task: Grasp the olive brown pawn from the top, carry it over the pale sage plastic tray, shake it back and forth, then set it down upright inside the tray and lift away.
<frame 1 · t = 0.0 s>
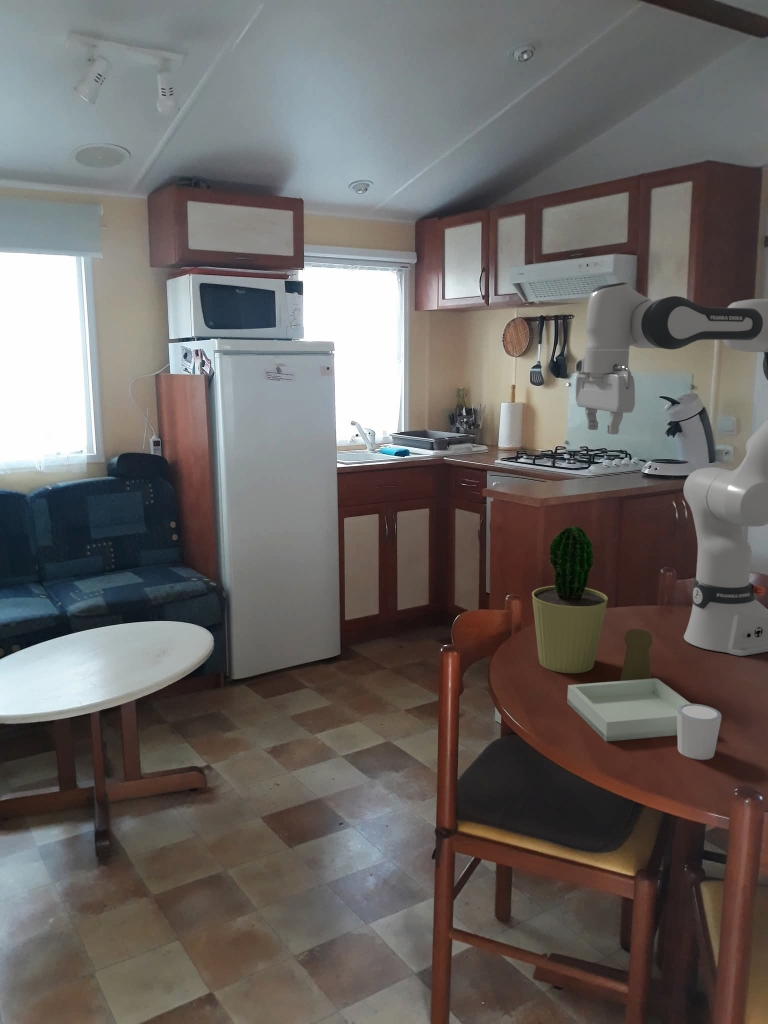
hand: (602, 431, 174), 48 cm above the table, tool pointing down, fingers open, 8 cm apart
olive brown pawn: (635, 684, 165), on the table
potted cactus: (566, 664, 176), on the table
tray: (632, 717, 150), on the table
white cup: (695, 752, 137), on the table
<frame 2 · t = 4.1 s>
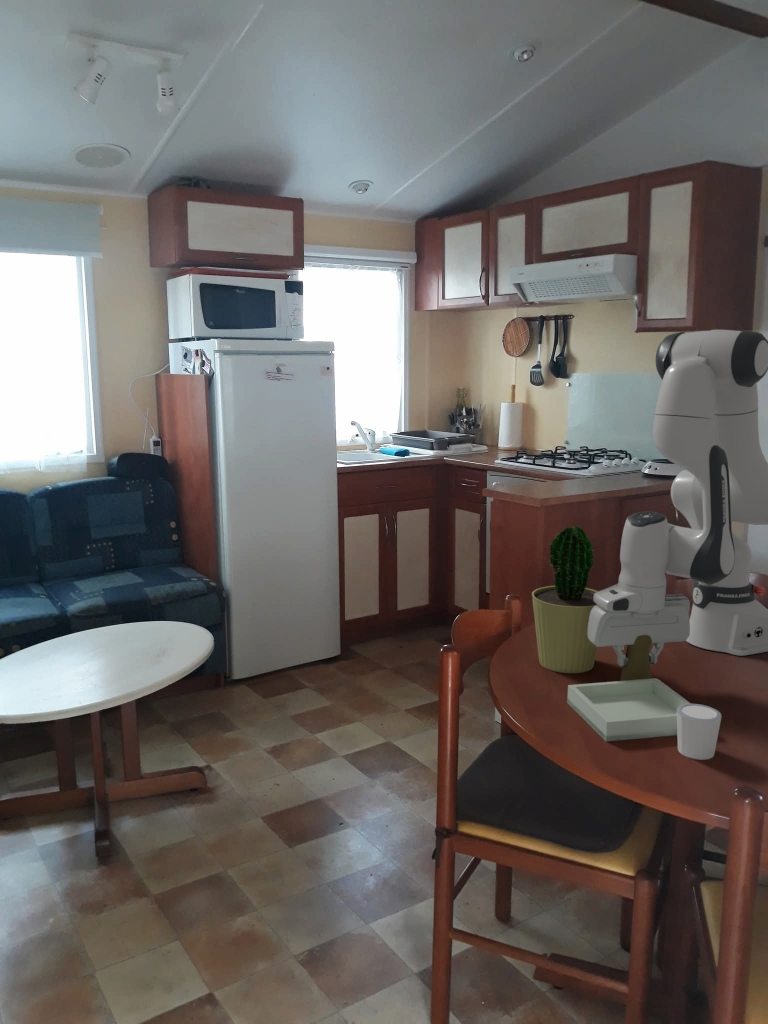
hand: (636, 664, 164), 4 cm above the table, tool pointing down, fingers closed on olive brown pawn, 5 cm apart
olive brown pawn: (635, 684, 165), on the table, touching gripper
everything else where it was.
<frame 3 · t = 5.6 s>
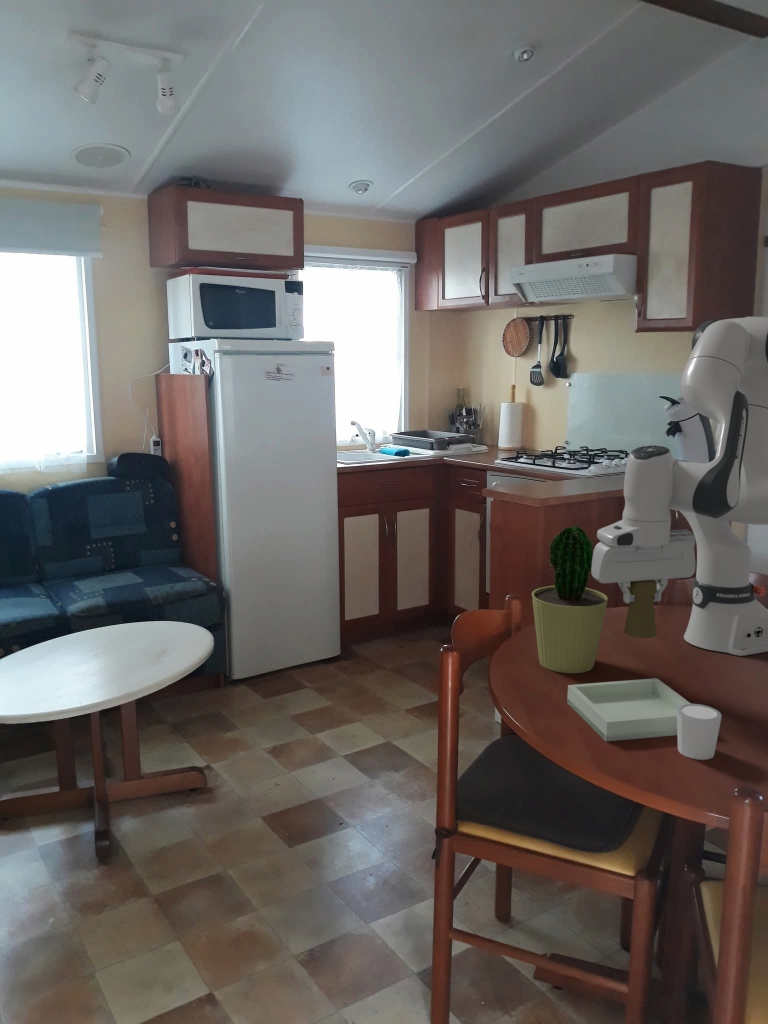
hand: (641, 601, 162), 17 cm above the table, tool pointing down, fingers closed on olive brown pawn, 4 cm apart
olive brown pawn: (639, 633, 163), point 10 cm above the table, touching gripper
everything else where it was.
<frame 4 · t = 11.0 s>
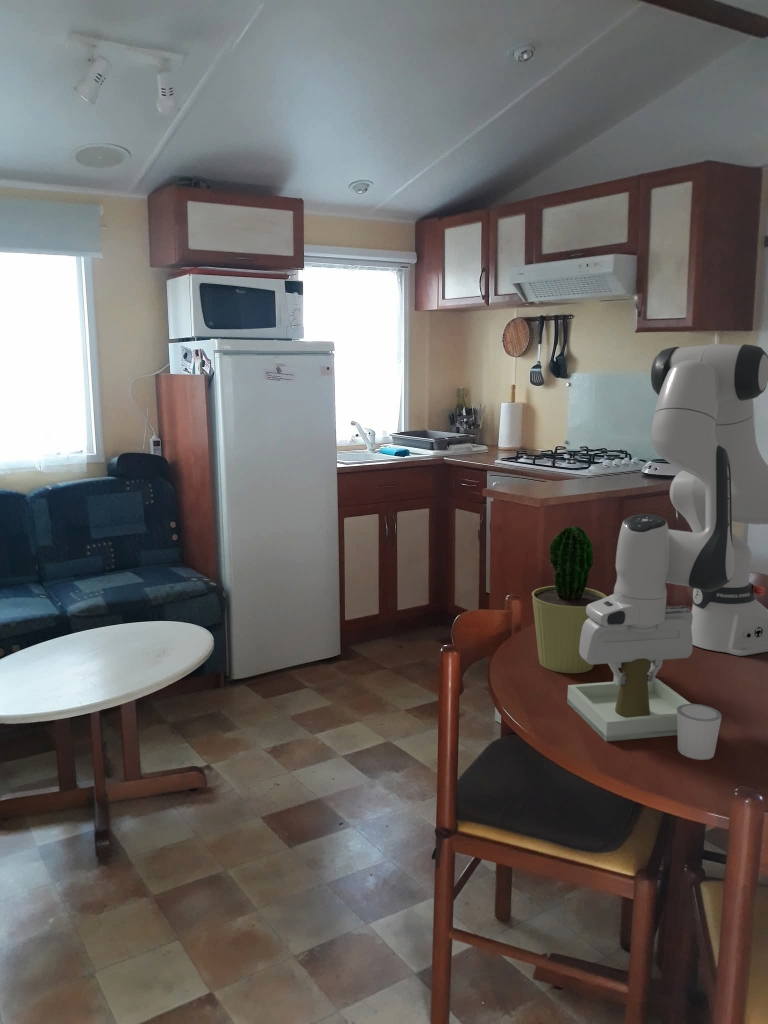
hand: (633, 683, 148), 7 cm above the table, tool pointing down, fingers closed on olive brown pawn, 4 cm apart
olive brown pawn: (632, 712, 149), point 1 cm above the table, touching gripper, tray
everything else where it was.
when the fingers open (7 cm above the table, at t = 11.4 s): olive brown pawn stays where it is, resting on tray.
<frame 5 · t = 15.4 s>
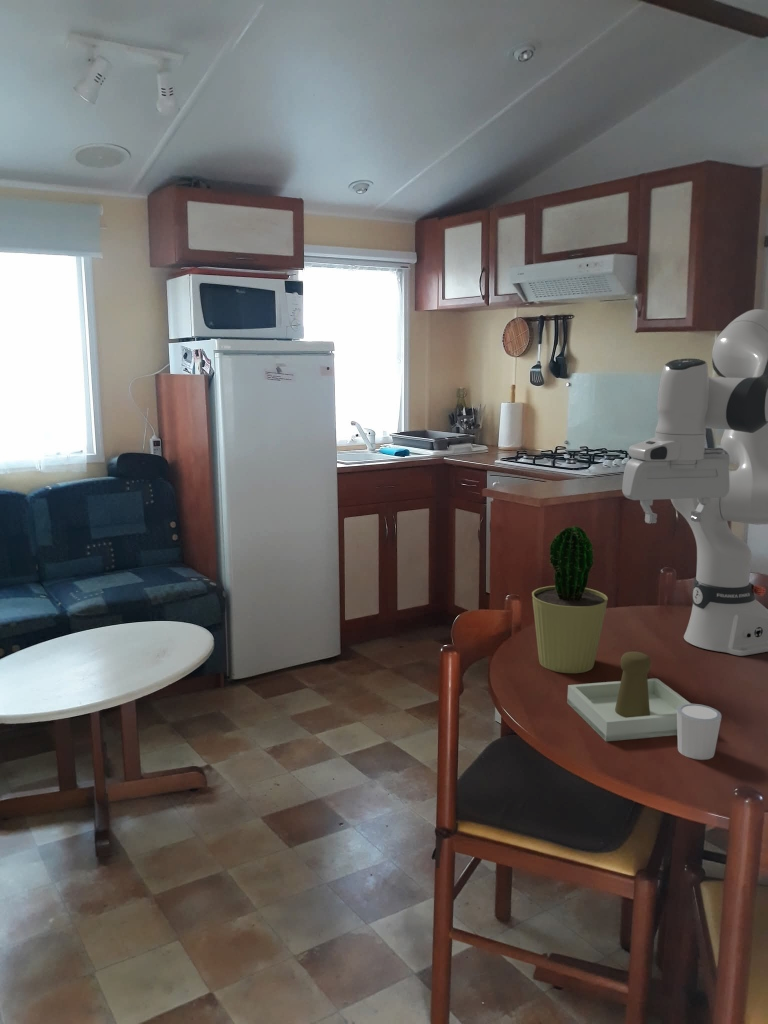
hand: (673, 521, 156), 33 cm above the table, tool pointing down, fingers open, 8 cm apart
olive brown pawn: (632, 713, 149), point 1 cm above the table, touching tray
everything else where it was.
at the end: olive brown pawn inside the target area on the tray (0.1 cm from its centre), point 0.8 cm above the tray's base; olive brown pawn tilted 0°; the gripper is holding nothing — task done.
